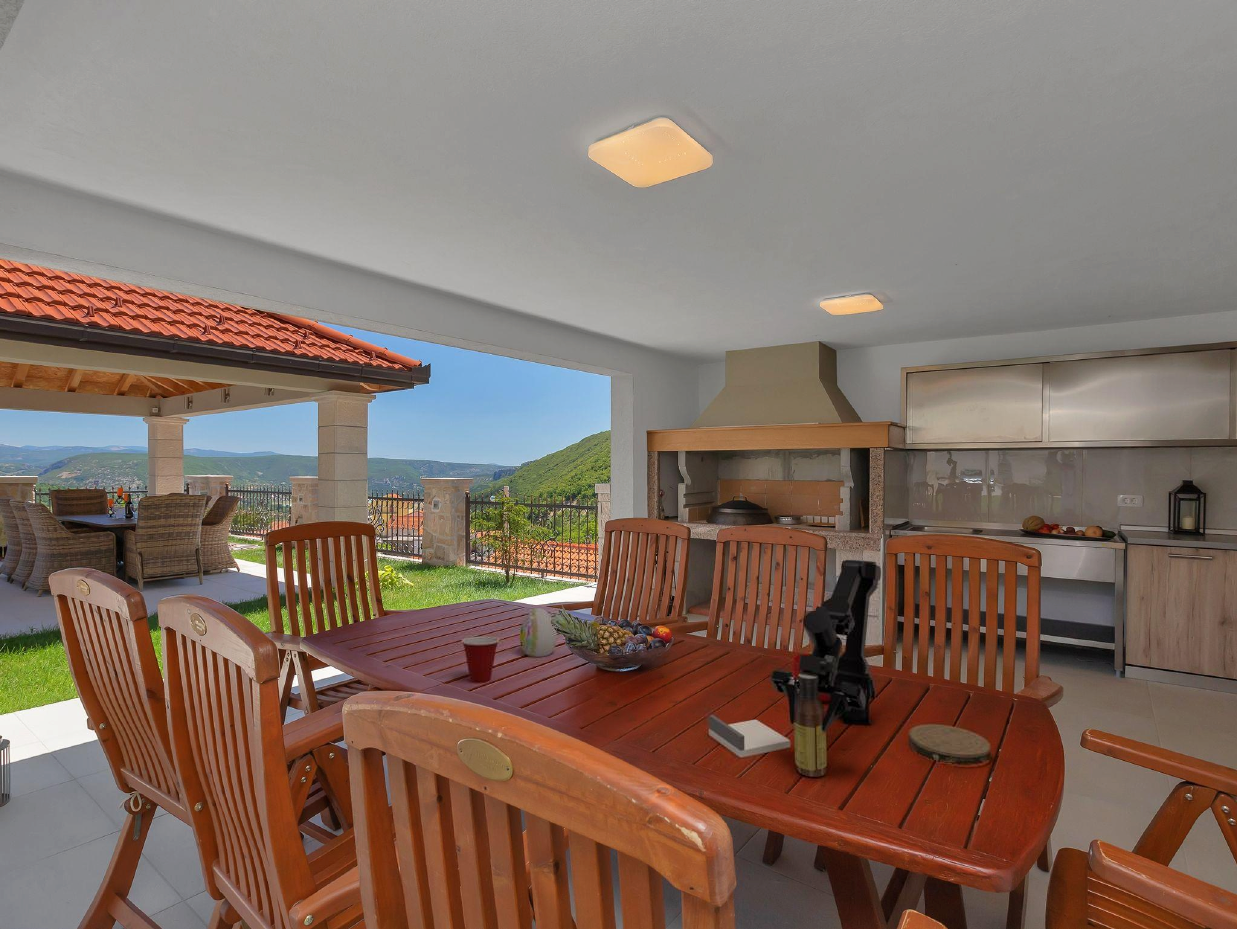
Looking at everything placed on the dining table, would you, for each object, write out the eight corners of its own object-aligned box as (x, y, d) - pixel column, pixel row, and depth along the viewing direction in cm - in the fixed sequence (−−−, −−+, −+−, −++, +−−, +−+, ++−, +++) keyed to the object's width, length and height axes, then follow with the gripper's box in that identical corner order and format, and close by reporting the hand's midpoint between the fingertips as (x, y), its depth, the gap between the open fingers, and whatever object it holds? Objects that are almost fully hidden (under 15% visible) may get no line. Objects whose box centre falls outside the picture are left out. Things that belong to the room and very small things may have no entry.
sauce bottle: (820, 764, 136) (821, 669, 136) (831, 778, 130) (831, 679, 130) (789, 764, 136) (790, 669, 136) (798, 779, 130) (799, 679, 130)
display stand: (755, 725, 156) (755, 706, 156) (790, 747, 144) (790, 727, 144) (708, 734, 151) (708, 715, 151) (740, 757, 139) (740, 736, 139)
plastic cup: (504, 674, 195) (504, 634, 195) (493, 686, 185) (493, 644, 185) (468, 673, 196) (468, 633, 196) (456, 685, 186) (456, 643, 186)
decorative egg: (517, 650, 220) (517, 605, 220) (552, 647, 224) (552, 603, 224) (523, 660, 209) (523, 613, 209) (560, 657, 212) (560, 611, 212)
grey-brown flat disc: (919, 731, 154) (919, 718, 154) (996, 750, 144) (996, 736, 144) (899, 754, 141) (899, 741, 141) (982, 777, 131) (982, 762, 131)
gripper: (773, 631, 142) (752, 697, 133) (862, 645, 131) (846, 718, 122) (786, 659, 148) (767, 723, 139) (872, 674, 137) (857, 745, 128)
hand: (807, 726), depth 132 cm, fingers closed on sauce bottle, 6 cm apart
